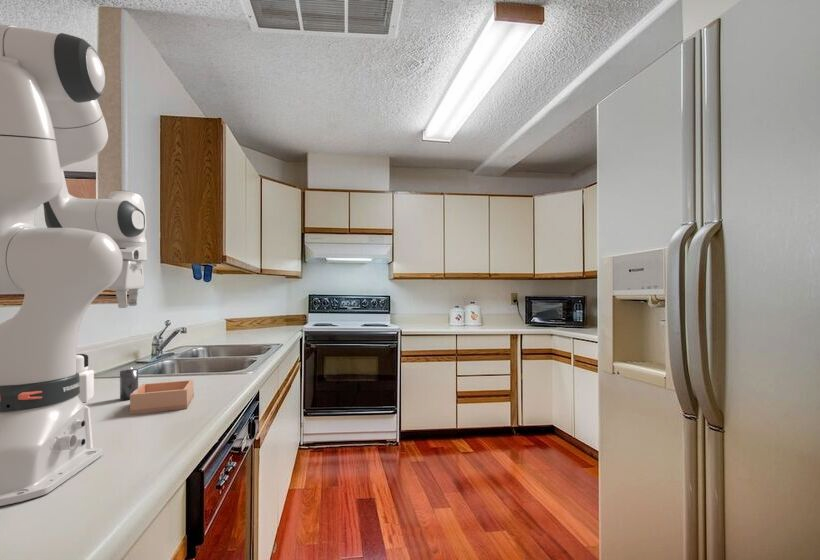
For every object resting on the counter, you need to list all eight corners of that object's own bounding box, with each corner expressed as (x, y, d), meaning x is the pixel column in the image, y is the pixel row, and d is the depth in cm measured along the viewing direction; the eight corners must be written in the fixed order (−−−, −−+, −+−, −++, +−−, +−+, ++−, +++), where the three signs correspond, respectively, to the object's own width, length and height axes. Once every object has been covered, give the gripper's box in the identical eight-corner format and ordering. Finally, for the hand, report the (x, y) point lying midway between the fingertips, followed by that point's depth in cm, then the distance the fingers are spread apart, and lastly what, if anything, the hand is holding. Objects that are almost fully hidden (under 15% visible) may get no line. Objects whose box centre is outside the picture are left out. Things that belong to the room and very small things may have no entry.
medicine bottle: (61, 399, 110) (60, 353, 110) (94, 396, 113) (94, 351, 113) (51, 406, 104) (51, 357, 104) (87, 402, 107) (86, 355, 107)
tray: (186, 408, 100) (186, 389, 100) (130, 414, 96) (129, 394, 96) (193, 396, 111) (193, 379, 111) (142, 401, 107) (142, 383, 107)
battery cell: (136, 399, 109) (135, 368, 109) (118, 401, 108) (117, 370, 108) (140, 395, 113) (139, 366, 113) (122, 397, 111) (122, 367, 111)
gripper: (124, 256, 119) (125, 305, 119) (100, 251, 100) (101, 309, 100) (149, 256, 121) (150, 304, 121) (131, 252, 102) (132, 308, 102)
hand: (128, 306), depth 110 cm, fingers open, 8 cm apart
